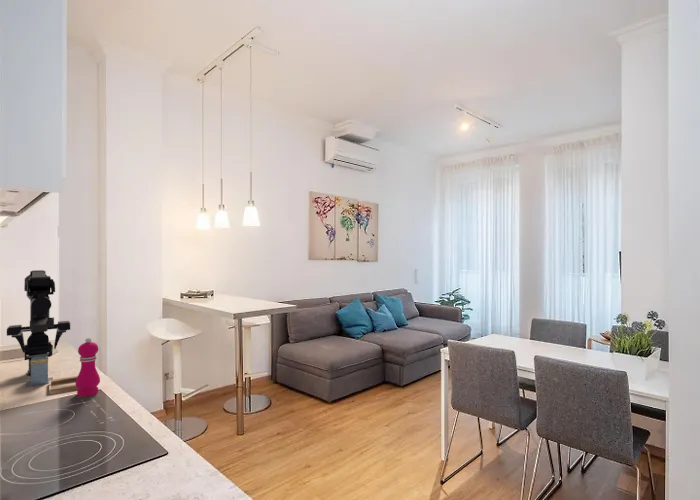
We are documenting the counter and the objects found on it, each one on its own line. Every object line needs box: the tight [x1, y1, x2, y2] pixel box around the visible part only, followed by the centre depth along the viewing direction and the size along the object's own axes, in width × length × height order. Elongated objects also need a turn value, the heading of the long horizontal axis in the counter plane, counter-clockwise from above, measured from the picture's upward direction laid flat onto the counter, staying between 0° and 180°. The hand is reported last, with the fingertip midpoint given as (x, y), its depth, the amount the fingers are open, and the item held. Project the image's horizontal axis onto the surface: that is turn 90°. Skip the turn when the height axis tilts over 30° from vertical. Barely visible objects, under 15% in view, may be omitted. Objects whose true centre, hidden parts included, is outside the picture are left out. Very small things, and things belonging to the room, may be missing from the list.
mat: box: [24, 377, 54, 388], centre depth 149 cm, size 8×8×1 cm
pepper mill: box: [76, 337, 101, 398], centre depth 139 cm, size 7×7×20 cm
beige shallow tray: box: [48, 375, 79, 395], centre depth 145 cm, size 12×10×2 cm
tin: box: [30, 355, 49, 387], centre depth 149 cm, size 7×5×9 cm
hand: (39, 350), depth 149 cm, fingers open, 9 cm apart
